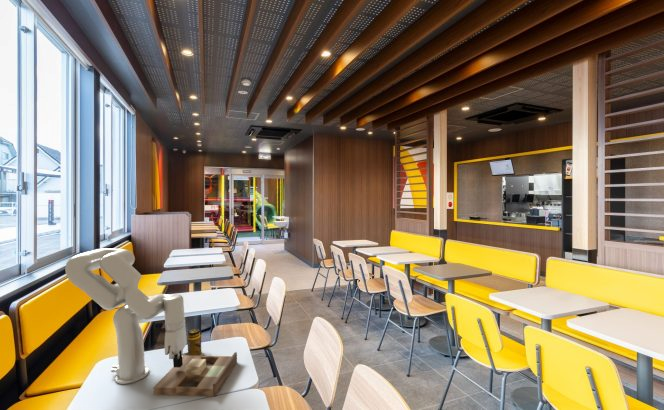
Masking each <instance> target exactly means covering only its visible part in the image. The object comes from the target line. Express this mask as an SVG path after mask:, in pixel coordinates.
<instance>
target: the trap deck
mask: <svg viewBox="0 0 664 410" xmlns="http://www.w3.org/2000/svg"><path fill="white" fill-rule="evenodd" d="M192 359H206V368H205V369H204V370H203V372H202V373H201V374H200V375H186V366H187V364H188V363H189V362H190V361H191V360H192ZM182 361H183V365H182V366H181V367H174V366H172V367H171V368H170V369H169V371H168V372H167V373H166V374H165V375H164V376H163V377H162V378H161V379H160V380H159V381H158V382H157V383H156V384H155V385H154V386H153V395H154V396H157V395H158V396H181V397H182V396H185V397H186V396H187V397H189V396H190V397H193V396H194V397H217V395H218V394H219V392H220V391H221V389H222V388H223V386H224V385H225V383H226V381H227V380H228V379H229V376H231V373H232V371H233V370H234V369H235V367H236V365H237V364H238V352H237V351H235V352H234V353H233V354H232V355H231V356H230V355H229V356H228V355H227V356H226V355H224V356H223V355H203V356H192V355H184V356H183V355H182Z"/></svg>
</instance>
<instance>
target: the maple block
mask: <svg viewBox="0 0 664 410" xmlns="http://www.w3.org/2000/svg"><path fill="white" fill-rule="evenodd" d="M205 368H206V359H192V360H191V361H190V362H189V363H188V364H187V366H186V375H200V374H201V373H202V372H203V370H204V369H205Z"/></svg>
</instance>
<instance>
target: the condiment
mask: <svg viewBox="0 0 664 410" xmlns="http://www.w3.org/2000/svg"><path fill="white" fill-rule="evenodd" d="M200 331H201V330H200V329H199V328H191V329H189V330H188V331H187V351H186V352H183V355H182V357H183V356H184V355H192V356H204V353H203V351H202V335H201V332H200Z"/></svg>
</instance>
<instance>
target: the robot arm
mask: <svg viewBox="0 0 664 410" xmlns="http://www.w3.org/2000/svg"><path fill="white" fill-rule="evenodd" d="M135 261H136V257H135V255H134V253H133V251H132V252H131V251H130V250H128V249H124V248H96V249H92V250H89V251H84V252H82V253H79V254H76V255H74V256H72V257H70V258H69V259H68V260H67V262H66V264H65V268H64V269H65V275H66V277H67V279H68V280H69V282H71V283H72V284H73V285H74V286H75V287H77V288H79V289H80V290H81V291H82V292H84V293H85V294H86V295H87V297H88V296H89V298H91V299H92V300H93V301H94V302H95V303H96V304H98V305H99V306H100V307H101V309H104V310H106V311H112V310H114V309H117V308H118V309H117V310H115V312H114V314H113V318H112V321H113V322H112V323H113V325H114V328H115V335H116V343H117V344H116V345H117V361H118V364H113V365H112V368H111V370H110V372H111V373H116V375H115V376H114V381H115V383H117V384H119V385H128V384H129V385H130V384H132V383H135V382H139V381H140V380H142V379H144V378H145V377H146V376H147V375H148V374H149V372H150V368H149V366H147V365H146V364H145V362H146V361H145V347H144V345H145V344H144V332H143V330H142V327H141V325H140V322H141V321H143V320H151V319H153V318H155V317H156V316H158V315H159V314H161V313H164V325H165V334H164V355H166V356H167V355H168V359H169V360H172V363H173V364H172V365H173V367H181V366H182V365H183V361H182V357H183V353H184V352H183V351H184V349H185V346H186V345H188V342H187V338H188V336H187V330H186V320H185V317H186V316H185V305H184V304H185V302H184V301H185V300H184V296H182V295H181V294H166V293H157V294H156V295H153V296H151V297H148V296H147V295H146V294H145V293H144V292H143V291H142V290H140V288H139V282H140V281H141V278H142V274H141V273H140V272H139V271H138V270H137V269H136V268H135V267H134V266H133V264H134V263H135ZM99 269H101V270H102V271H103V272H104V273H105V274H107V276H108V277H109V278H110V279H112V280H113V281H114V282H115V283H114V284H113V283H111V282H110V281H108V280H107V279H106V278H105V277H104V276H103V275H99V274H98V273H94V272H93V271H96V270H99Z"/></svg>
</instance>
